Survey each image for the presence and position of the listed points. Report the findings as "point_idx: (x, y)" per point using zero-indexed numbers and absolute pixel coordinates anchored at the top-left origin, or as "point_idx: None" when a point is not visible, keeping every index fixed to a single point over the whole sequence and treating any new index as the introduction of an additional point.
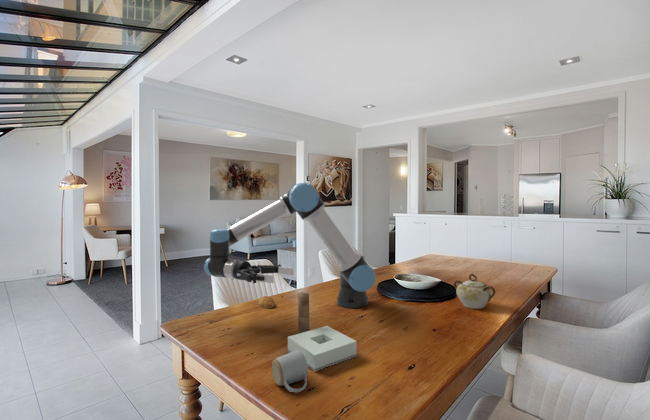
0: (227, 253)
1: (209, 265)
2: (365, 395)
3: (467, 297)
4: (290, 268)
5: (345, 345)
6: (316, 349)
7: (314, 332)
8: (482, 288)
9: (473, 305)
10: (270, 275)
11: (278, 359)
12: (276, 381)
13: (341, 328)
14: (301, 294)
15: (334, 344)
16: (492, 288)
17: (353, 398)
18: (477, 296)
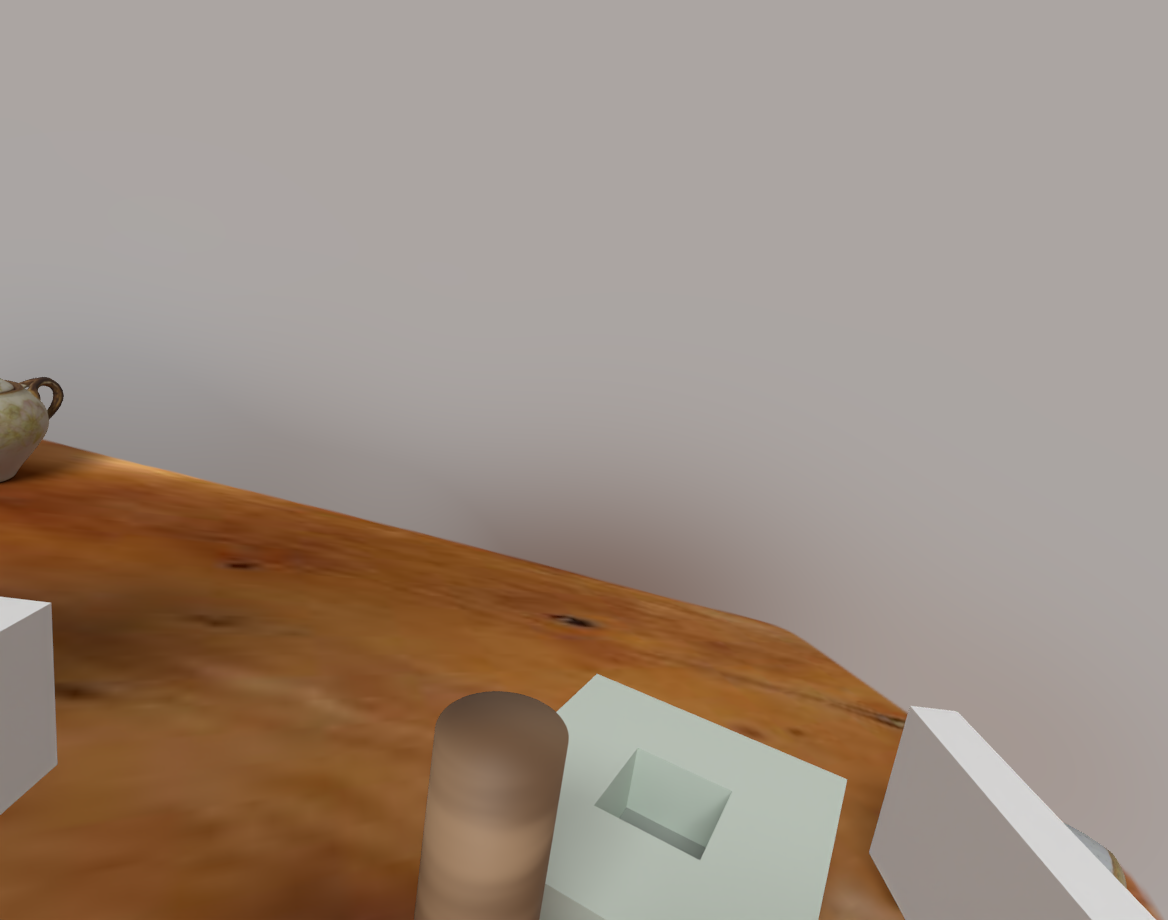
0: None
1: None
2: (804, 695)
3: (10, 440)
4: (4, 637)
5: (659, 702)
6: (793, 787)
7: (597, 861)
8: (27, 391)
9: (14, 467)
10: (983, 744)
11: (1104, 855)
12: None
13: (190, 870)
14: (519, 743)
15: (686, 734)
16: (56, 383)
17: (844, 715)
18: (42, 424)
